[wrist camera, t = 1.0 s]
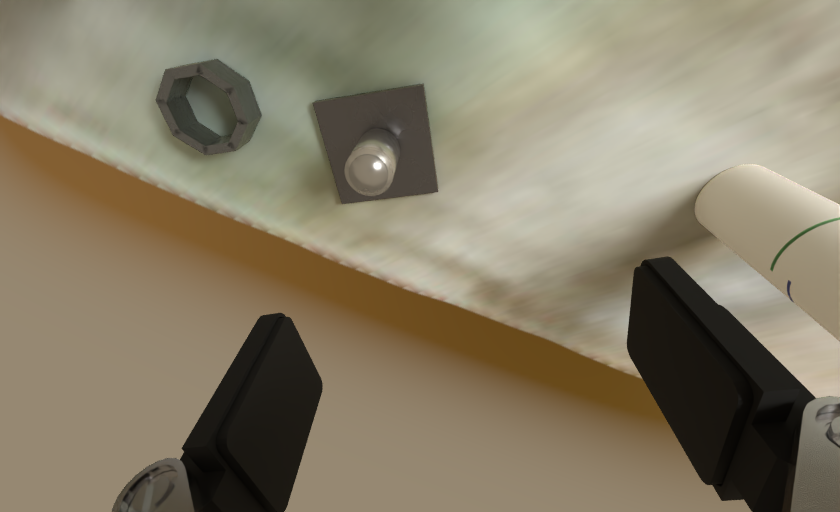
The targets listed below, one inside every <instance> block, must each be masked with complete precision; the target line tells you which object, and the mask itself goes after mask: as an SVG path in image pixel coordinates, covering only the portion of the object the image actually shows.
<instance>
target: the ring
mask: <svg viewBox="0 0 840 512" xmlns="http://www.w3.org/2000/svg"><path fill="white" fill-rule="evenodd" d="M196 75H201V76H202V77H204V78H205V79H207V80H208V81H210V82H211V83H213V84H214V85H216V86H217V87H219V88H220V89H222V90H223V91H225V92H226V93H227V95H228V97H229V100H230V102H231V105H232V107H233V110H234V112H235V115H236V117H237V120H238V123H237V125H236V127H235V129H234V132H233V134H232V135H228V136H219V135H218V134H216V133H214V132H213V131H211V130H210V129H208V128H206V127H205V126H203V125H202V124H200V123H199V122H197V120H196V117H195V115H194V113H193V111H192V109H191V106H190V104H189V102H188V100H187V98H186V94H187V91H188V88H189V86H190V83H191V80H192V77H193V76H196ZM156 102H157V104H158V106H159V108H160V110H161V112H162V114H163V116H164V118H165V120H166V122H167V124H168V126H169V128H170V130H171V132H172V134H173V136H175V137H176V138H178V139H180V140H181V141H183V142H185V143H186V144H188V145H190V146H191V147H193V148H195V149H196V150H198V151H199V152H201V153H203V154H204V155H210V154H217V153H224V152H231V151H236V150H237V149H239V148H240V147H242V146H243V145H245V144H246V143H247V142H249V141H250V139H251V137H252V135H253V133H254V131H255V129H256V126H257V124H258V122H259V120H260V118H261V116H262V115H261V112H260V109H259V107H258V104H257V101H256V98H255V96H254V93H253V90H252V87H251V85H250V82H249V81H248V80H247V79H245V78H244V77H242V76H241V75H240V74H238V73H237V72H235V71H234V70H232V69H231V68H229V67H228V66H227V65H225V64H224V63H222V62H221V61H219V60H218V59H214V60H209V61H203V62H198V63H192V64H187V65H182V66H178V67H174V68H169V69H165V72H164V75H163V79H162V82H161V85H160V88H159V91H158V95H157V98H156Z"/></svg>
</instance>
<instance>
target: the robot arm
mask: <svg viewBox="0 0 840 512" xmlns="http://www.w3.org/2000/svg"><path fill="white" fill-rule="evenodd" d="M627 349H628V353H629V355H630V357H631V359H632V361H633V363H634V364H635V366H636V368H637V370H638V371H639V373H640V375H641V377H642V378H643V380H644V381H645V383H646V385H647V387H648V389H649V390H650V392H651V394H652V396H653V397H654V399H655V401H656V402H657V404H658V406H659V408H660V409H661V411H662V413H663V415H664V416H665V418H666V420H667V422H668V423H669V425H670V427H671V428H672V430H673V432H674V433H675V435H676V437H677V439H678V441H679V442H680V444H681V446H682V448H683V449H684V451H685V453H686V454H687V456H688V458H689V459H690V461H691V463H692V465H693V466H694V468H695V470H696V472H697V473H698V475H699V477H700V478H701V480H702V481H703V482H704V483H705V484H707V485H713V487H714V488H715V490H716V492H717V494H718V495H719V497H720V499H721V500H722V501H727V500H741V499H744V500H745V502H746V503H747V505H748V506H749V508H750V509H751V511H752V512H840V397H833V396H828V397H822V398H815V397H814V396H813V395H812V394H811V393H810V392H809V391H808V390H807V389H806V388H805V387H804V386H803V385H802V384H801V383H800V382H799V381H798V380H797V379H796V378H795V377H794V376H793V375H792V374H791V373H790V372H789V371H788V370H787V369H786V368H785V367H784V366H783V365H782V364H781V363H780V362H779V361H778V360H777V359H776V358H775V357H774V356H773V355H772V354H771V353H770V352H769V351H768V350H767V349H766V348H765V347H764V346H763V345H762V344H761V343H760V342H759V341H758V340H757V339H756V338H755V337H754V336H753V335H752V334H751V333H750V332H749V331H748V330H747V329H746V328H745V327H744V326H743V325H742V324H741V323H740V322H739V321H738V320H737V319H736V318H735V317H734V316H733V315H732V314H731V313H730V312H729V311H728V310H727V309H725V308H724V307H723V306H721V305H718V304H717V303H716V302H715V301H714V300H713V299H712V298H711V297H710V296H709V295H708V294H707V293H706V292H705V291H704V290H703V289H702V288H701V287H700V286H699V285H698V284H697V283H696V282H695V281H694V280H693V279H692V278H691V277H690V276H689V275H688V274H687V273H686V272H685V271H684V270H683V269H682V268H681V267H680V266H679V265H678V264H677V263H676V262H675V261H674V260H673V259H672V258H671V257H662V258H655V259H648V260H644V261H642V263H641V266H640V267H636V268H635V270H634V277H633V287H632V297H631V307H630V317H629V327H628V337H627ZM321 393H322V380H321V378H320V376H319V374H318V372H317V370H316V368H315V365H314V364H313V362H312V359H311V358H310V355H309V353H308V352H307V350H306V347H305V346H304V343H303V341H302V339H301V338H300V335H299V333H298V331H297V329H296V328H295V326H294V323H293V321H292V319H291V318H290V317H286V316H285V315H284V314H282V313H276V314H269V315H263V316H261V317H260V318H259V319H258V320H257V322H256V324H255V325H254V327H253V329H252V330H251V332H250V334H249V336H248V337H247V339H246V341H245V342H244V344H243V346H242V347H241V349H240V351H239V352H238V354H237V356H236V357H235V359H234V361H233V363H232V364H231V366H230V368H229V369H228V371H227V373H226V374H225V376H224V378H223V379H222V381H221V383H220V384H219V386H218V388H217V389H216V391H215V393H214V395H213V396H212V398H211V400H210V401H209V403H208V405H207V407H206V408H205V410H204V412H203V413H202V415H201V417H200V418H199V420H198V422H197V423H196V425H195V427H194V429H193V430H192V432H191V433H190V435H189V437H188V438H187V440H186V442H185V444H184V445H183V447H182V449H183V451H184V453H183V455H182V457H181V459H180V460H178V459H176V458H167V459H163V460H160V461H157V462H155V463H153V464H151V465H149V466H148V467H146V468H145V469H143V470H142V471H141V472H139V473H138V474H137V475H136V476H135V477H134V478H133V479H132V480H131V481H130V482H129V483H128V484H127V485H126V486H125V487H124V489H123V490H122V491H121V493H120V494H119V496H118V497H117V499H116V502H115V503H114V506H113V509H112V512H284V511H285V510H286V507H287V505H288V501H289V498H290V495H291V492H292V488H293V485H294V482H295V479H296V475H297V472H298V469H299V466H300V462H301V459H302V455H303V452H304V449H305V446H306V443H307V439H308V436H309V433H310V430H311V426H312V423H313V420H314V416H315V413H316V410H317V406H318V403H319V400H320V397H321Z"/></svg>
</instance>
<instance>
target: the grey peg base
mask: <svg viewBox="0 0 840 512" xmlns="http://www.w3.org/2000/svg"><path fill="white" fill-rule="evenodd" d="M313 106H314V109H315V113H316V116H317V119H318V123H319V126H320V130H321V133H322V137H323V140H324V143H325V147H326V150H327V154H328V157H329V161H330V164H331V167H332V171H333V174H334V178H335V181H336V185H337V188H338V191H339V195H340V198H341V202H342V204H346V203H354V202H362V201H370V200H378V199H386V198H394V197H402V196H410V195H418V194H426V193H434V192H438V184H437V177H436V169H435V162H434V155H433V148H432V141H431V133H430V126H429V119H428V112H427V105H426V98H425V90H424V84H418V85H412V86H406V87H399V88H393V89H387V90H381V91H375V92H368V93H362V94H356V95H350V96H344V97H337V98H331V99H325V100H319V101H315V102H313Z"/></svg>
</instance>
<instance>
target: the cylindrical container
mask: <svg viewBox="0 0 840 512" xmlns="http://www.w3.org/2000/svg"><path fill="white" fill-rule="evenodd" d="M694 209H695V216H696V218H697V220H698V222H699V223H700V224H702V225H703V226H704V227H705V228H706V229H707V230H709V231H710V232H711V233H712V234H713V235H714V236H716V237H717V238H718V239H719V240H720V241H722V242H723V243H724V244H725V245H726V246H727V247H729V248H730V249H731V250H732V251H733V252H734V253H736V254H737V255H738V256H739V257H740V258H741V259H743V260H744V261H745V262H746V263H747V264H749V265H750V266H751V267H752V268H753V269H755V270H756V271H757V272H758V273H759V274H761V275H762V276H763V277H764V278H765V279H767V280H768V281H769V282H770V283H771V284H772V285H774V286H775V287H776V288H777V289H778V290H780V291H781V292H782V293H783V294H784V295H786V296H787V297H788V298H789V299H790V300H792V301H793V302H794V303H795V304H796V305H797V306H799V307H800V308H801V309H802V310H803V311H805V312H806V313H807V314H808V315H809V316H810V317H812V318H813V319H814V320H815V321H816V322H817V323H819V324H820V325H821V326H822V327H823V328H825V329H826V330H827V331H828V332H829V333H830V334H832V335H833V336H834V337H835V338H836V339H837V340H839V341H840V205H839V204H837V203H835V202H833V201H831V200H829V199H827V198H825V197H823V196H821V195H819V194H817V193H815V192H813V191H811V190H809V189H807V188H805V187H803V186H801V185H799V184H797V183H795V182H793V181H791V180H789V179H787V178H785V177H783V176H781V175H779V174H777V173H775V172H773V171H771V170H769V169H767V168H765V167H763V166H760V165H756V164H744V165H738V166H735V167H732V168H729V169H727V170H725V171H723V172H721V173H720V174H718V175H717V176H715V177H714V178H713V179H711V180H710V181H709V182H708V183H707V184H706V185H705V186H704V188H703V189H702V190H701V192H700V193H699V195H698V197H697V200H696V202H695V207H694Z"/></svg>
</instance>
